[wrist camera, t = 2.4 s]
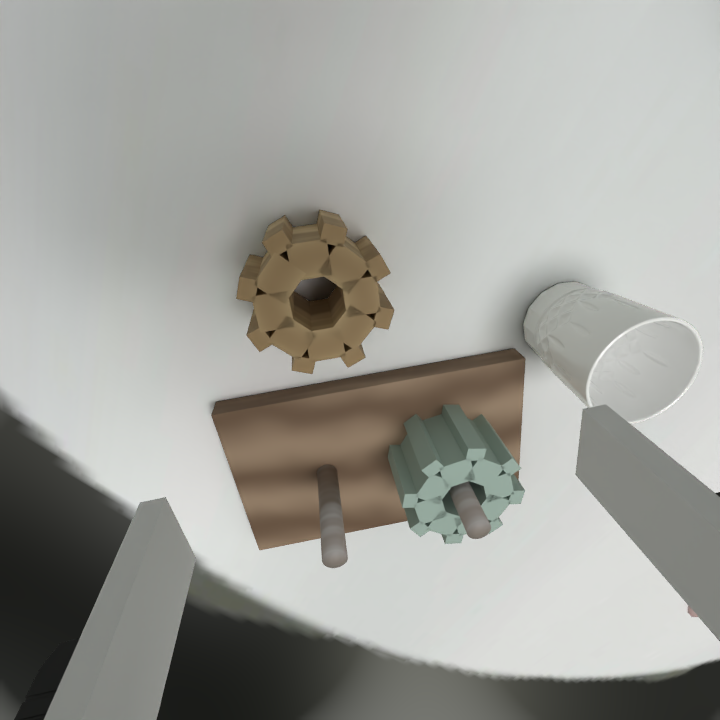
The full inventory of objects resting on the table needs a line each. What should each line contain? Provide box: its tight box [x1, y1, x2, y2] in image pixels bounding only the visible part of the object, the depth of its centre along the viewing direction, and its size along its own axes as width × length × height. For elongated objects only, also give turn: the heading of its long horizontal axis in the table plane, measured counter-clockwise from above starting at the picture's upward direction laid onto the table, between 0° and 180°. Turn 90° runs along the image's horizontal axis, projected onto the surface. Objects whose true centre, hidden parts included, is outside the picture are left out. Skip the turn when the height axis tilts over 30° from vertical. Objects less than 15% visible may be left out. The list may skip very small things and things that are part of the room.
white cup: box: [523, 282, 703, 424], centre depth 32 cm, size 8×8×10 cm
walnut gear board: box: [212, 349, 525, 568], centre depth 35 cm, size 16×26×11 cm, turn 97°
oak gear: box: [236, 210, 394, 374], centre depth 29 cm, size 10×10×6 cm
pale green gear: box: [388, 405, 525, 544], centre depth 36 cm, size 10×10×6 cm
